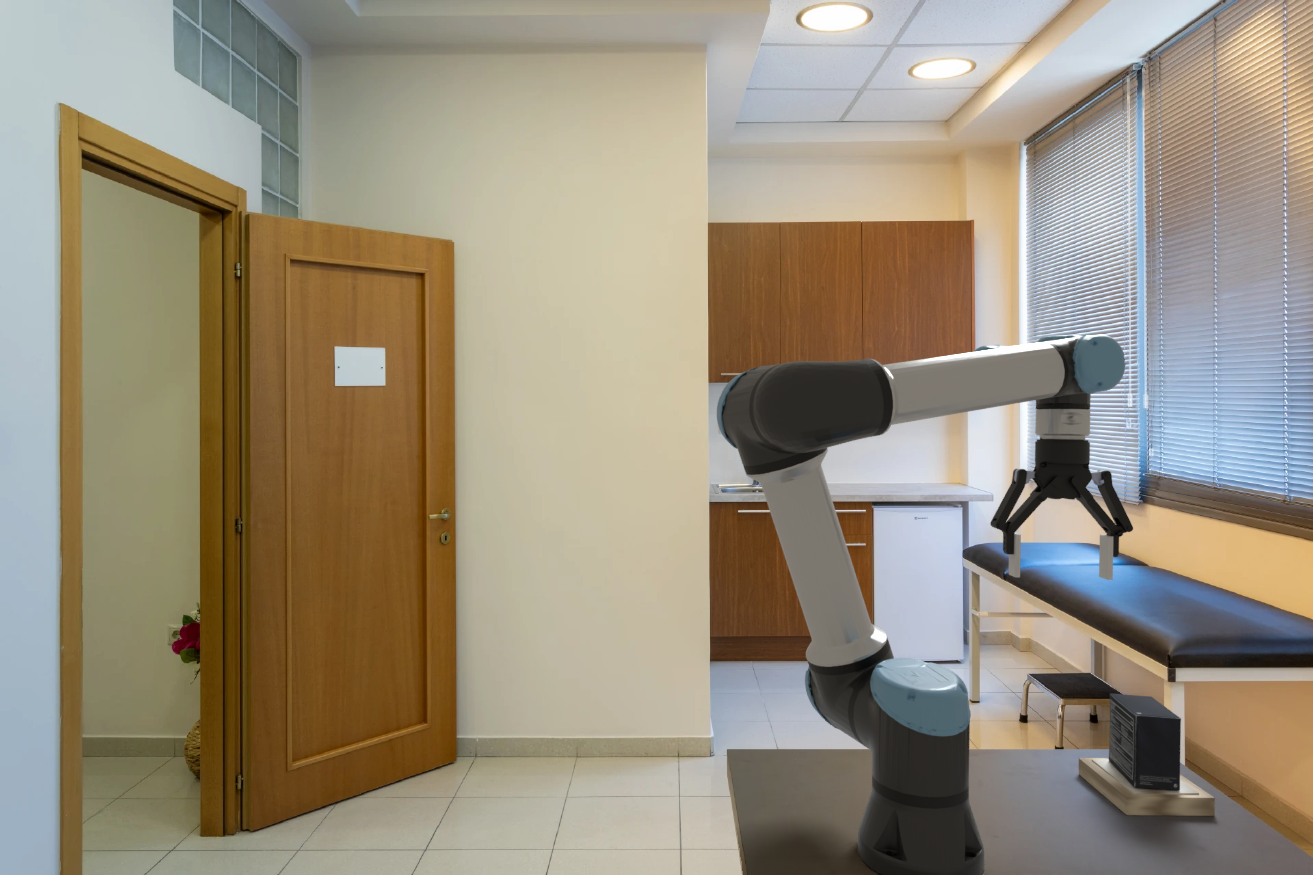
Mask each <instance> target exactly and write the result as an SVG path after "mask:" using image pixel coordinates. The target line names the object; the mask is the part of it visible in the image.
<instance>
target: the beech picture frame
mask: <svg viewBox="0 0 1313 875" xmlns="http://www.w3.org/2000/svg"><path fill="white" fill-rule="evenodd" d="M1078 775H1079V776H1081V777H1082V778H1083V779H1084V780H1086V782H1087V783H1089V784H1090V785H1091V786H1092V787H1093V788H1095V789H1096V790H1097V791H1098V792H1099V793H1100V794H1102V796H1104V797H1105V798H1106V799H1107V800H1108V801H1110V802H1111V803H1112V804H1113V805H1114V806H1115V807H1117V809H1120V811H1121V812H1123V814H1125V815H1126V816H1179V817H1180V816H1187V817H1188V816H1191V817H1192V816H1194V817H1198V816H1199V817H1200V816H1203V817H1204V816H1205V817H1208V816H1209V817H1211V816H1212V817H1215V814H1216V813H1215V808H1216V807H1215V804H1216V802H1215V800H1216V798H1215V797H1214V796H1213V795H1212V794H1210V793H1208V792H1207V791H1206V790H1204V789H1202V788H1201V787H1199V786H1198V785H1196V784H1195V783H1193V782H1192V781H1191V780H1189V779H1188V778H1187V777H1184V775H1183V774H1181V773H1180V790H1179V791H1178V790H1164V789H1151V788H1136V787H1133V786H1132V785H1131V784H1130V783H1129V781H1128V780H1127V779H1126V778H1125V777H1124V776H1123V775H1122V774H1121V773H1120V772H1119V771H1118V770H1117V769H1116V768H1115V767H1114V765H1113V764H1112V763H1111V762H1110V761H1109V757H1078Z"/></svg>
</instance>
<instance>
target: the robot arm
mask: <svg viewBox="0 0 1313 875" xmlns="http://www.w3.org/2000/svg"><path fill="white" fill-rule="evenodd" d="M1125 360H1126V359H1125V352H1124V350H1123V348H1122V346H1121V345H1120V343H1119V342H1118V341H1117V340H1116V339H1115V338H1113V337H1112V336H1109V335H1107V334H1092V335H1091V334H1085V335H1075V334H1070V335H1069V334H1068V335H1067V334H1062V335H1049V336H1044V337H1040V338H1039V339H1038V341H1037V342H1034V343H1025V344H1017V345H1009V346H1008V345H1000V344H994V345H982V346H979V347H977V348H976V349H974V350H973V351H970V352H969V351H968V352H964V353H958V354H956V353H955V354H950V355H944V356H943V355H941V356H935V357H930V358H922V359H915V360H908V361H901V362H893V363H888V364H887V363H886V364H882V363H881V362H879V361H878V360H876V359H874V358H865V359H859V360H856V359H855V360H839V361H838V360H837V361H835V360H834V361H827V360H826V361H825V360H824V361H821V360H796V361H795V360H794V361H789V362H788V361H787V362H784V363H778V364H770V365H761V366H757V367H752V368H750V369H747V370H746V371H742V372H741V373H739V374H737V375H736V376H735V377H732V378H731V380H730V381H728V383H727V384H726V385H725V386H724V387H723V390H722V391H721V393H720V396H719V398H718V401H717V406H716V421H717V424H718V425H717V426H718V429H719V431H720V433H721V435H722V436H723V438H724V439H725V440H726V441H727V443H729V444H730V446H732V447H733V448H734V449H737V451H738V454H739V457H740V461H741V464H742V466H743V469H744V472H745V475H746V476H747V477H748V478H750V479H752V480H755V482H758V483H759V484H760V485H761V488H762V492H763V494H764V495H763V496H764V497H765V501H766V503H767V506H768V510H769V512H770V516H771V519H772V522H773V525H774V529H775V530H776V533H777V537H778V540H779V543H780V547H781V549H782V553H783V556H784V558H785V561H786V564H787V569H788V571H789V573H790V578H791V580H792V583H793V586H794V589H795V592H796V596H797V598H798V601H799V605H800V607H801V611H802V614H803V616H804V620H805V623H806V625H807V629H808V632H809V634H810V638H811V642H810V643H809V645H808V646H807V647H806V648H807V649H806V651H805V658H806V661H807V664H808V668H807V670H806V671H805V676H804V685H805V693H806V696H807V698H808V700H809V702H810V705H811V706H812V708H813V709H814V710H815V712H817V714H819V715H820V717H821V718H822V719H823V720H825V722H826V723H827V724H829V725H830V726H832V728H835V729H837V730H839V731H841V732H843V733H844V734H846V735H847V736H848V737H850V738H852V739H853V740H855V741H856V742H858V743H859V744H861V745H862V746H863V747H865V748H867V749H868V750H869V751H871V792H870V794H869V797H868V801H867V803H866V807H865V808H864V813H863V815H862V818H861V822H860V824H859V827H858V829H857V830H858V831H857V852H858V855H859V857H860V859H861V860H862V861H863V862H864V864H865V865H866V866H868V868H871V870H873V872H874V871H875V872H876V873H878V874H880V875H983V873H984V871H985V847H984V844H983V840H982V838H981V835H980V831H979V829H978V825H977V822H976V819H975V814H974V813H973V810H972V806H971V804H970V733H971V732H970V728H971V727H970V726H971V725H970V722H971V709H970V708H971V707H970V703H969V702H970V700H969V692H968V688H967V685H966V684H965V682H964V680H963V679H962V678H961V677H960V676H959V675H958V674H956V673H955V672H954V671H952V670H951V669H949V668H948V667H946V666H943V665H940V664H938V663H934V662H925V661H924V660H923V659H922V660H921V659H917V658H911V657H909V658H908V657H907V658H906V657H898V658H896V657H895V656H894V654H893V650H892V648H891V644H890V641H889V638H888V635H887V632H886V631H885V630H884V629H882V628H881V627H880V626H879V627H878V625H875V624H873V623H872V620H871V619H870V615H869V612H868V609H867V605H866V602H865V599H864V597H863V593H862V589H861V586H860V584H859V581H858V577H857V574H856V571H855V568H854V565H853V562H852V558H851V556H850V552H849V549H848V545H847V543H846V539H845V536H844V533H843V530H842V527H841V524H840V521H839V518H838V513H837V511H836V507H835V505H834V502H833V499H832V496H831V493H830V489H829V486H828V483H827V480H826V479H827V478H826V477H825V474H824V470H823V466H822V463H823V461H824V460H825V457H826V455H827V453H828V451H829V449H828V448H831V447H834V446H839V445H842V444H846V443H849V442H853V441H854V442H855V441H857V440H862V439H867V438H872V437H877V436H882V435H884V434H886V432H888V431H889V429H890V428H891V426H893V425H898V424H899V425H900V424H905V423H911V422H915V421H921V420H927V419H932V418H933V419H934V418H938V417H944V416H945V417H946V416H950V415H957V414H961V413H963V414H964V413H968V412H974V411H980V410H986V409H992V408H996V407H1003V406H1009V405H1015V404H1021V403H1027V402H1034V401H1035V428H1034V429H1035V430H1034V431H1035V435H1036V436H1039V438H1038V439H1036V441H1035V442H1034V443H1035V444H1034V445H1035V446H1034V448H1035V449H1034V469H1033V470H1027V469H1024V468H1014V469H1013V472H1012V477H1011V478H1012V479H1011V483H1010V485H1009V487H1008V489H1007V491H1006V492H1005V495H1004V497H1003V498H1002V500H1001V502H1000V504H999V505H998V507H997V509H996V511H995V513H994V515H993V517H992V519H991V521H990V523H989V524H990V526H991V527H992V528H994V529H997V530H1000V531H1001V532H1002V534H1003V535H1002V551H1003V554H1006V555H1008V575H1009V576H1012V577H1013V578H1021V555H1022V554H1021V546H1022V541H1021V540H1022V537H1021V536H1022V535H1021V534H1020V533H1018V532H1017V531H1018V529H1019V528H1021V526H1022V525H1023V524H1024V523H1025V522H1026V520H1027V519H1029V518H1030V516H1031V515H1032V514H1033V513H1034V512H1035V511H1036V510H1037V508H1039V506H1040V505H1041V504H1042V503H1044V502H1045V501H1046V500H1047V499H1051V500H1061V499H1065V500H1074V501H1075V499H1076V500H1077V501H1078V502H1079V503H1081V505H1082V506H1083V507H1084V509H1085V510H1086V511H1087V512H1088V513H1089V514H1090V516H1091V517H1092V518H1093V519H1094V521H1096V523H1097V524H1098V525H1099V527H1101V529H1102V530H1103V531H1104V532H1105V534H1099V556H1098V559H1099V562H1098V564H1099V565H1098V568H1099V569H1098V578H1101V579H1104V580H1107V581H1113V580H1114V579H1113V575H1114V572H1113V571H1114V558H1118V556H1119V555H1120V550H1119V549H1120V538H1121V537H1122V536H1124V534H1125V533H1131V532H1133V530H1134V526H1133V524H1132V522H1131V520H1130V518H1129V516H1128V514H1127V512H1126V510H1125V507H1124V506H1123V503H1122V502H1121V500H1120V498H1119V495H1118V493H1117V491H1116V490H1115V488H1114V486H1113V477H1112V476H1113V475H1112V472H1111V471H1110V470H1103V469H1098V470H1096V471H1091V470H1090V461H1091V459H1090V457H1091V452H1090V451H1091V450H1090V449H1091V442H1089V439H1088V440H1087V439H1086V437H1089V436H1090V434H1091V395H1092V394H1095V393H1100V392H1106V391H1110V390H1111V389H1114V388H1115V387H1116V386H1118V384H1119V383H1120V382H1121V380H1122V378H1123V377H1124V374H1125V370H1126V363H1125V362H1126V361H1125ZM1031 479H1032V481H1033V482H1034V483H1035V485H1036V487H1035V488H1034V489H1033V490H1032V491H1031V492H1030V494H1029V496H1028V497H1027V498H1026V499H1025V501H1024V502H1023V503H1022V504H1021V505H1020V506H1019V507H1018V508H1017V509H1016V510H1015V511H1014V513H1013V514H1012V515H1011V513H1012V512H1013V510H1014V508H1015V506H1016V504H1017V502H1018V501H1019V498H1020V497H1021V495H1022V493H1023V491H1024V489H1025V487H1026V485H1027V484H1029V483H1030V482H1031ZM1091 481H1093V484H1094V485H1095V486H1097V489H1098V491H1099V493H1100V496H1101V497H1102V499H1103V501H1104V503H1105V505H1106V507H1107V510H1108V512H1109V514H1110V516H1111V517H1110V516H1109V515H1108V514H1107V512H1106V511H1105V510H1104V509H1103V508H1102V507H1101V505H1100V504H1099V503H1098V501H1097V500H1096V499H1095V498H1094V495H1093V494H1092V493H1091V491H1090V490H1089V489H1088V488H1087V486H1088V485H1089V484H1090V483H1091ZM1009 517H1010V518H1009ZM1111 518H1112V519H1111Z"/></svg>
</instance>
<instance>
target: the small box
mask: <svg viewBox="0 0 1313 875" xmlns="http://www.w3.org/2000/svg"><path fill="white" fill-rule="evenodd" d="M1181 721H1182V718H1181V717H1180V716H1178V715H1177V714H1175V713H1174V712H1173V711H1172V710H1170V709H1169V708H1167V707H1166V706H1165V705H1164V704H1162V703H1161V702H1159V701H1158V700H1157V699H1155V698H1154V697H1153V696H1151V695H1150V696H1148V695H1147V696H1145V695H1134V694H1133V695H1132V694H1123V693H1112V692H1111V693H1109V740H1108V741H1109V746H1108V747H1109V748H1108V750H1109V751H1108V758H1109V761H1110V762H1111V763H1112V764H1113V765H1114V767H1115V768H1116V769H1117V770H1118V771H1119V772H1120V773H1121V774H1122V775H1123V776H1124V777H1125V778H1126V779H1127V780H1128V781H1129V783H1130V784H1131V785H1132V786H1133V787H1136V788H1151V789H1164V790H1178V791H1179V790H1180V774H1181V739H1182V738H1181V737H1182V736H1181V728H1182V727H1181V726H1182V722H1181Z"/></svg>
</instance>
